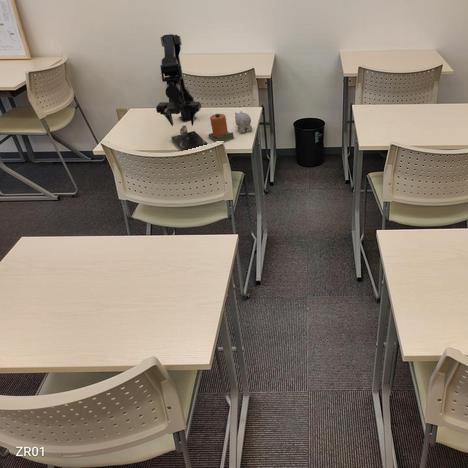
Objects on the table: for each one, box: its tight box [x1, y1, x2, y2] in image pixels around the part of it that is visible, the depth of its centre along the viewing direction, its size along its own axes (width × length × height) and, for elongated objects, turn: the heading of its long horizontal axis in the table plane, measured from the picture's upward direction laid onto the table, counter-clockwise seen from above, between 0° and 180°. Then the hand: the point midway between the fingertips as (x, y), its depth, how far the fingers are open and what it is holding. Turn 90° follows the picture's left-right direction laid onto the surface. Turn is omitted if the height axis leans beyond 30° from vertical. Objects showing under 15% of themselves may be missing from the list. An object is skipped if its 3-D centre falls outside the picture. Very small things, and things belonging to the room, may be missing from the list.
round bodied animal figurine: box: [234, 111, 253, 134], centre depth 225 cm, size 7×12×8 cm, turn 25°
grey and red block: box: [179, 125, 188, 138], centre depth 218 cm, size 5×2×4 cm, turn 177°
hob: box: [171, 130, 209, 152], centre depth 215 cm, size 20×11×2 cm, turn 32°
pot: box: [209, 113, 229, 137], centre depth 216 cm, size 7×7×9 cm
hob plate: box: [180, 137, 206, 149], centre depth 212 cm, size 11×11×1 cm
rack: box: [207, 131, 235, 143], centre depth 219 cm, size 9×8×3 cm
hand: (182, 125), depth 216 cm, fingers open, 9 cm apart
